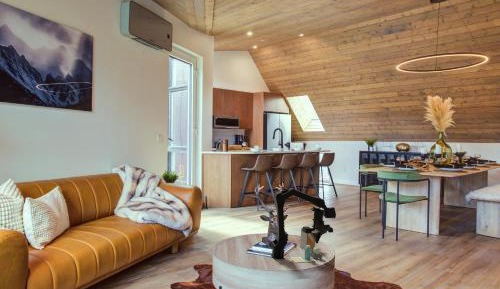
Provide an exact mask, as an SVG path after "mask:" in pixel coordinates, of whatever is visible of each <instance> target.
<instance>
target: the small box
mask: <svg viewBox="0 0 500 289" xmlns="http://www.w3.org/2000/svg"><path fill="white" fill-rule="evenodd" d="M309 227H310V226H309ZM302 228H303V227H301V228H300V237H299V238H300V242H299V248H300V249H303V250H305V247H306V245H310V247H311V250H314V247H316V242H315V239H314V236H313V234H312V233H305V232H303V231H302ZM310 228H312V226H311V227H310ZM315 230H316V229H315Z"/></svg>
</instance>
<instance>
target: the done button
mask: <svg viewBox="0 0 500 289" xmlns="http://www.w3.org/2000/svg"><path fill="white" fill-rule="evenodd" d="M320 249H321V248H320V247H318V246H317V247H316V246H315V247H314V249H313V252H314V253H313V254H314V255H319V253H321V252H320Z"/></svg>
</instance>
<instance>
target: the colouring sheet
mask: <svg viewBox="0 0 500 289" xmlns="http://www.w3.org/2000/svg"><path fill="white" fill-rule="evenodd" d="M304 257H305V256H294V257H290V256H289V259H290V260H291V261H292V262H293V263H295V264H298V263H313V262H312V261H315V262H316V259H314V258H312V257H311V258H310V260H306V259H304Z"/></svg>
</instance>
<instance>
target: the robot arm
mask: <svg viewBox="0 0 500 289" xmlns="http://www.w3.org/2000/svg"><path fill="white" fill-rule="evenodd" d="M292 196H295V197H297V198H299V199H302V200H304V201H307V202H309V203H311V204H312V205H314V206H312V207H311V208H310V211H312V212H313V218H312V219H311V220H312V221H313V222H312V225H311V228H310V226H302V227H301V228H302V231H303V232H305V233H312V234H313V236H314V239H315V245H316V244H318V243H319V241H320V239H321V238H322V236H323V235H325V234H327V232H328V233H334V228H333V227H332V226H331V225H330V224H325V220H324V218H325V219H332V220H333V219H336V217H337V212H336V208H335V207H334V206H332V207H328V206H327V205H326V202H325V199H323V198H321V197H320V196H315V195H310V194H308V193H304V192H303V191H300V190H298V189H295V188H293V187H289V188H288V189H285V190H281V191H276V192H274V193H273V200H274V203H275V205H276V206H275V207H276V220H277V225H276V226H277V231H276V235H275V236H276V237H275V239H273V241H272V242H271V243H272V245H273V246H272V248H271V249H272V250H271V255H270V257H271V258H272V259H273V260H282V259H284V260H285V247H286V246H287V244H288V242H289V233H288V232H287V231H286V230H285V213H284V210H285V208H284V206H285V204H286V200H288V199H289V198H291V197H292ZM315 229H316V230H315Z"/></svg>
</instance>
